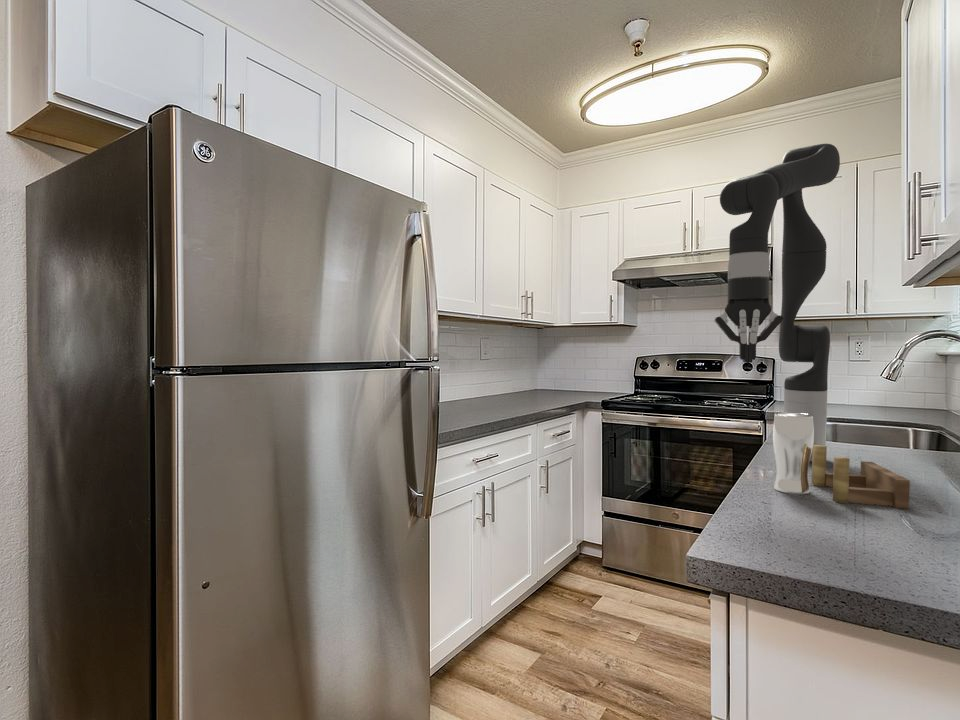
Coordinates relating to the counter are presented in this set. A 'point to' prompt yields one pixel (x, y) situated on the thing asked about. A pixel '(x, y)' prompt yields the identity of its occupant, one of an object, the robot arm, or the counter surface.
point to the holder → (860, 481)
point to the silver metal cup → (792, 451)
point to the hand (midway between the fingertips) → (747, 362)
